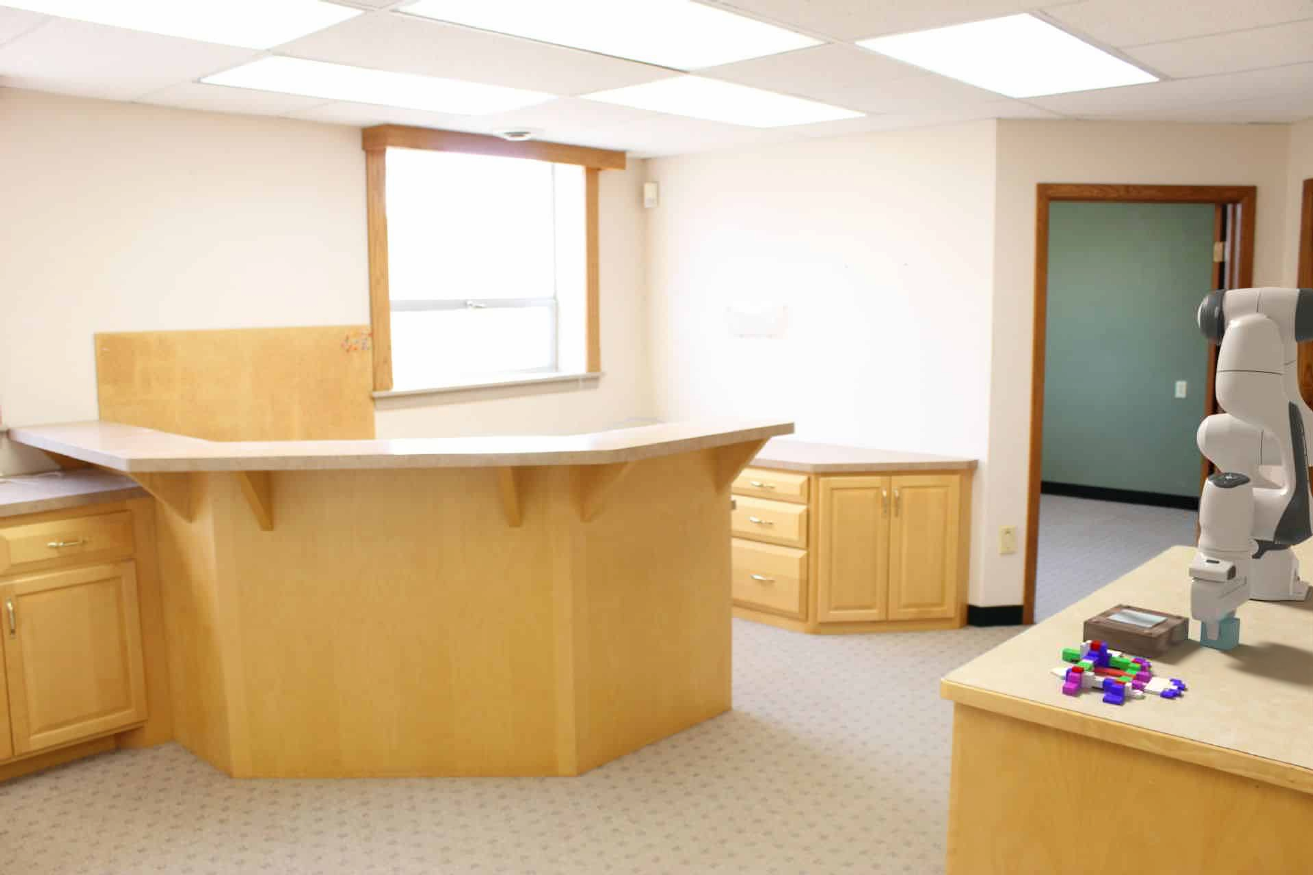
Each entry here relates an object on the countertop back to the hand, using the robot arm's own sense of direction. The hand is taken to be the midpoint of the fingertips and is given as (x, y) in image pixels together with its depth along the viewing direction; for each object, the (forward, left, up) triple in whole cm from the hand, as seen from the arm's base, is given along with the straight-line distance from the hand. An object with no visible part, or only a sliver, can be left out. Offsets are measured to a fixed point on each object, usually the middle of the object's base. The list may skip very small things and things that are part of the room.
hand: (1219, 634), depth 195 cm
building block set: (+30, -6, -3) cm, 31 cm away
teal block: (0, 0, -2) cm, 2 cm away
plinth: (+8, -12, -2) cm, 15 cm away
